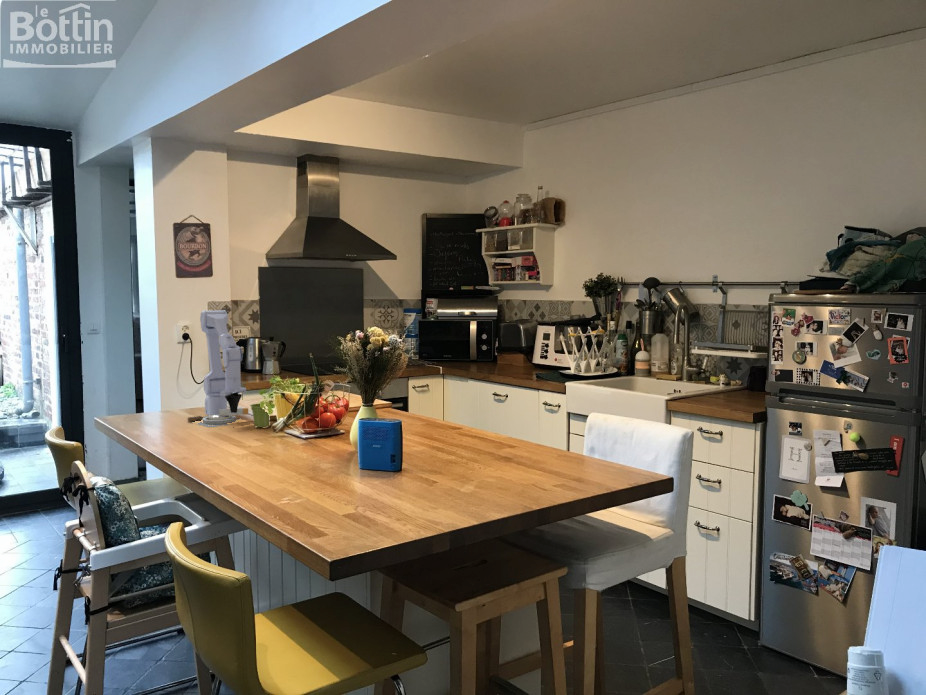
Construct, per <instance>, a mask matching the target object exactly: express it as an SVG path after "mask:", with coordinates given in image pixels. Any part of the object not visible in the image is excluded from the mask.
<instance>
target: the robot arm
mask: <svg viewBox="0 0 926 695" xmlns="http://www.w3.org/2000/svg"><path fill="white" fill-rule="evenodd" d="M199 319H200V321H199V322H200V328H201V331H202V332H204V333H205V337H206V343H207V344H206V345H207V353H208V362H209V373H208V374H206V375H205V377H204V379H203V390H204V394H205V395H206V397H205V399H204V413H205V415H206V414H207V415H206V416H209V415H213V414H219V409H228V405H229V409H230V411H231V413H237V408H239V402H240V400H241V399H242V397H243V395H242V394H243V393H247V388H246V387H243V386H242V385H241V384H242V381H241V380H242V378H241V362H242V361H243V355H244V354H243V350H242V348H241V346H239V345H237V343H236V340H235V339H234V336H233V335H232V334H230V333H229V330H228V323H229V322H228V321H229V315H228V312H227V311H226V310H225V309H223V310H202V311H201V313H200V318H199ZM221 351H222V353H221ZM222 361H223V364H222ZM223 367H224V370H225V371H223Z"/></svg>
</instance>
